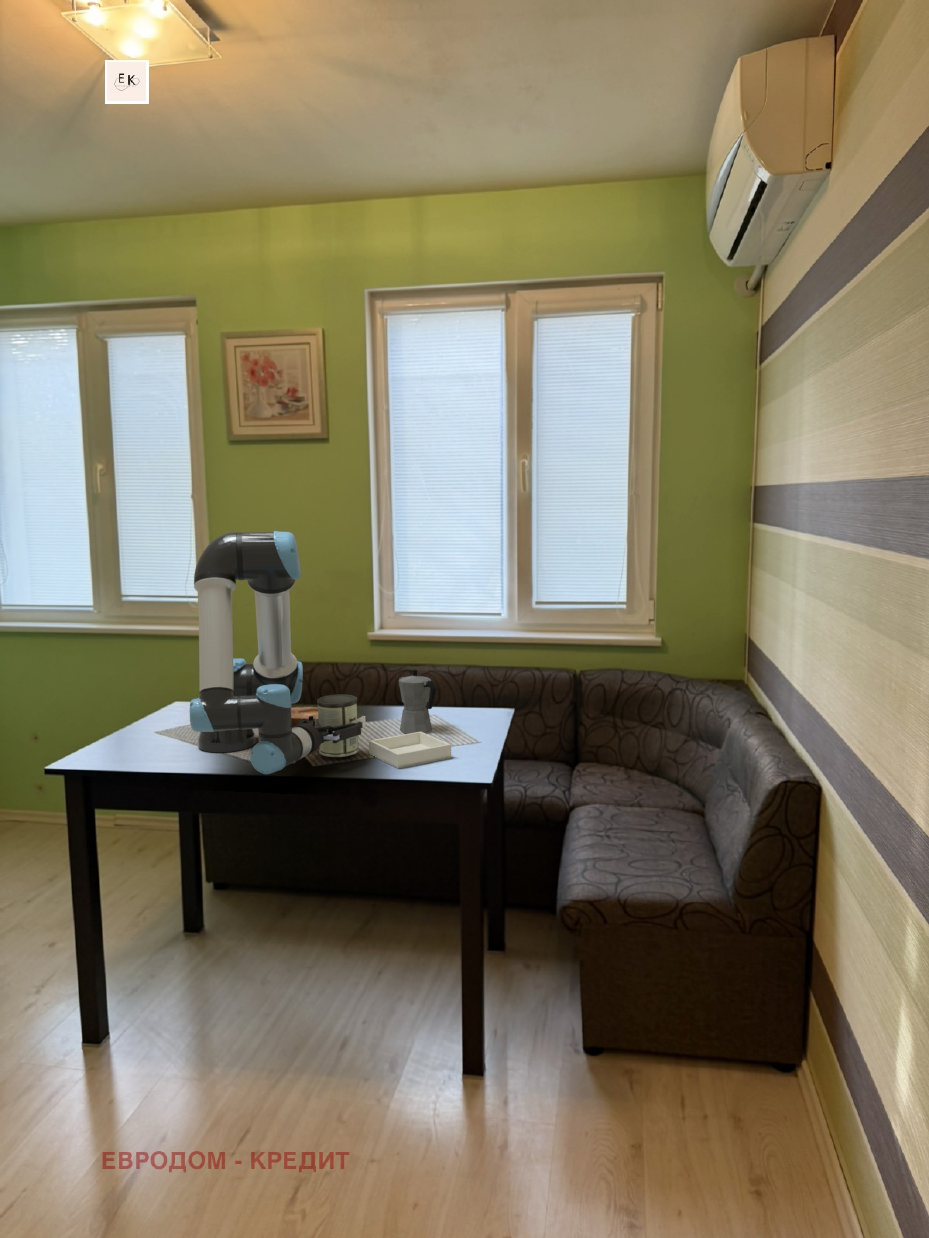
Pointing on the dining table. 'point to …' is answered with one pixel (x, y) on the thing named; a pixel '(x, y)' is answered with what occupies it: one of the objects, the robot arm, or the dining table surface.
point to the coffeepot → (416, 703)
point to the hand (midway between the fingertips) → (346, 719)
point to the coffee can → (338, 723)
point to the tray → (409, 749)
